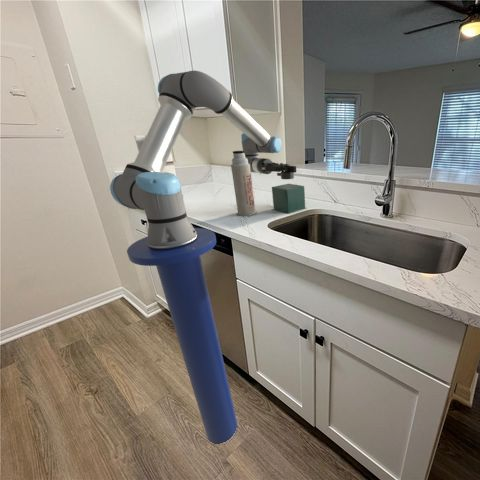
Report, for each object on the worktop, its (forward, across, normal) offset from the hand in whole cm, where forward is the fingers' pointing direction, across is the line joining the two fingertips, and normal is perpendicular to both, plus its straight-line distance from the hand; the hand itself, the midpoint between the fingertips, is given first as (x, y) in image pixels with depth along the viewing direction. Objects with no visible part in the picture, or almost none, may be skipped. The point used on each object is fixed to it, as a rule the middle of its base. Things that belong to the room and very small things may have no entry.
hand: (295, 169), depth 117 cm
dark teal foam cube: (-6, 0, -19) cm, 20 cm away
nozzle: (-7, 0, -5) cm, 9 cm away
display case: (-80, +30, -20) cm, 88 cm away
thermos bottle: (-16, +18, -20) cm, 31 cm away
